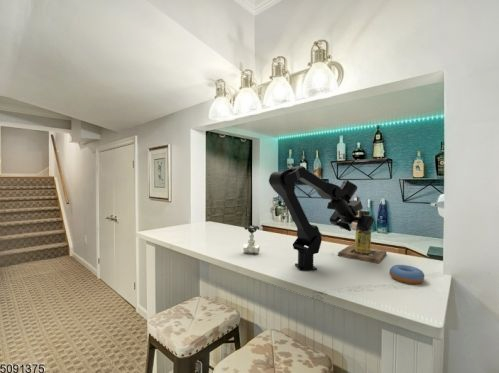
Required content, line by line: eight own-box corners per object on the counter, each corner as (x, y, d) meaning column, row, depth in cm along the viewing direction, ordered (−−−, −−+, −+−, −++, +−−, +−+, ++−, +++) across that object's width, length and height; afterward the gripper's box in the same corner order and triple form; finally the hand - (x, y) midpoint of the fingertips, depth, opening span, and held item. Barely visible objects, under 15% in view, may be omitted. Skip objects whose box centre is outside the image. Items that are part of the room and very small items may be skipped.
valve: (257, 256, 110) (257, 228, 109) (242, 255, 111) (242, 227, 111) (260, 252, 116) (260, 225, 116) (245, 251, 117) (246, 225, 117)
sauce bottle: (356, 256, 110) (357, 210, 110) (353, 252, 116) (353, 209, 116) (372, 257, 109) (373, 211, 108) (368, 253, 115) (369, 209, 115)
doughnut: (430, 286, 79) (429, 271, 80) (394, 284, 82) (393, 269, 83) (418, 277, 89) (417, 264, 89) (386, 276, 92) (386, 263, 92)
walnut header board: (386, 254, 114) (386, 251, 114) (378, 263, 101) (378, 259, 101) (349, 248, 124) (349, 245, 124) (338, 255, 111) (338, 252, 111)
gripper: (371, 195, 100) (388, 221, 106) (334, 193, 116) (350, 215, 122) (358, 217, 96) (375, 242, 102) (321, 211, 112) (338, 233, 118)
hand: (359, 232), depth 111 cm, fingers open, 9 cm apart
